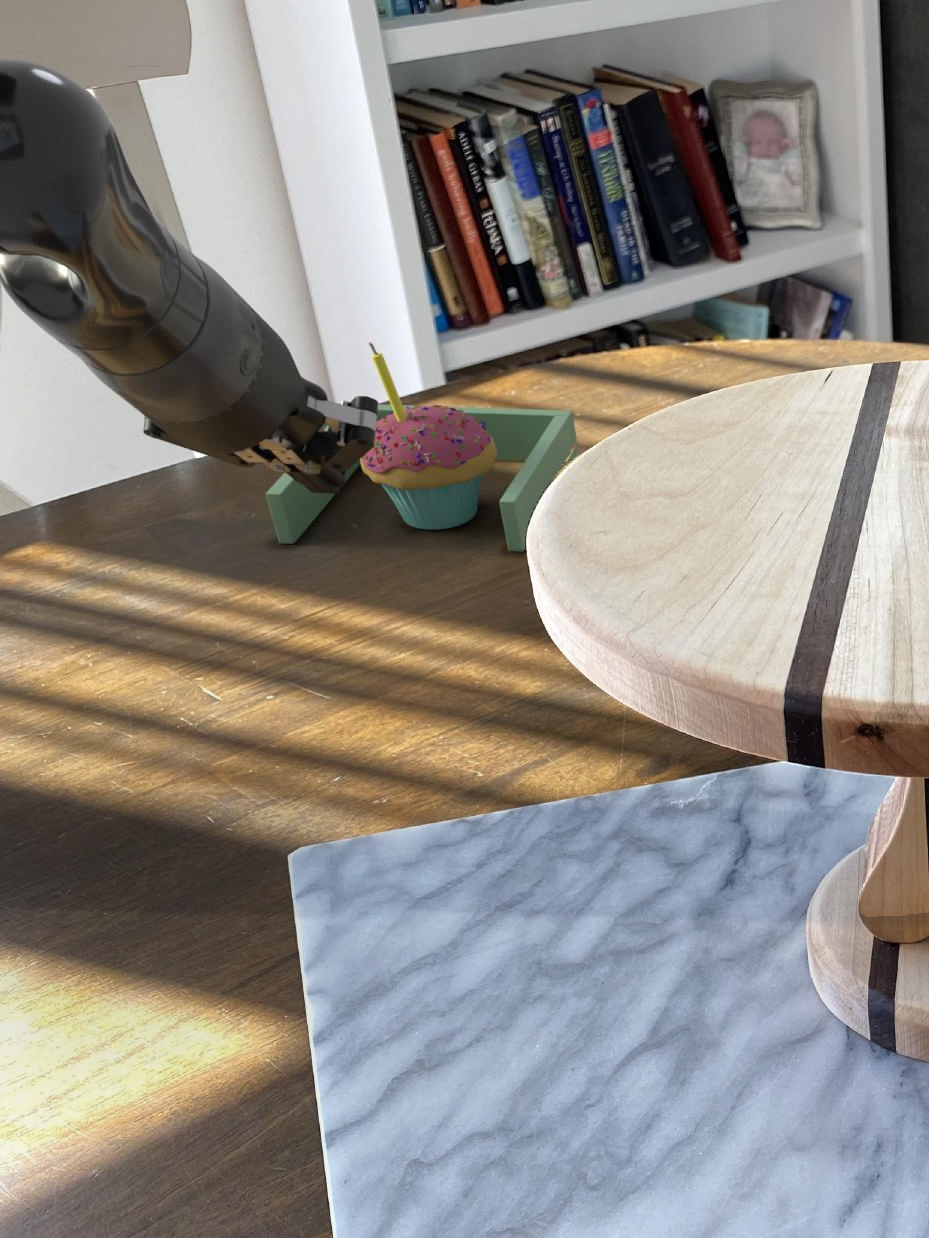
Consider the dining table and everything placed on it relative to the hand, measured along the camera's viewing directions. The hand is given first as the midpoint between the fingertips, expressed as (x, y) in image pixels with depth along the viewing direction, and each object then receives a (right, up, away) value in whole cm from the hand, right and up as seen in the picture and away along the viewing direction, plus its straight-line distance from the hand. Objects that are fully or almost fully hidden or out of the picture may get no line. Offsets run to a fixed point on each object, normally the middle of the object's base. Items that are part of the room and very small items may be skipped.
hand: (328, 477), depth 99 cm
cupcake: (+2, +1, +15) cm, 15 cm away
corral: (+1, +2, +16) cm, 16 cm away
